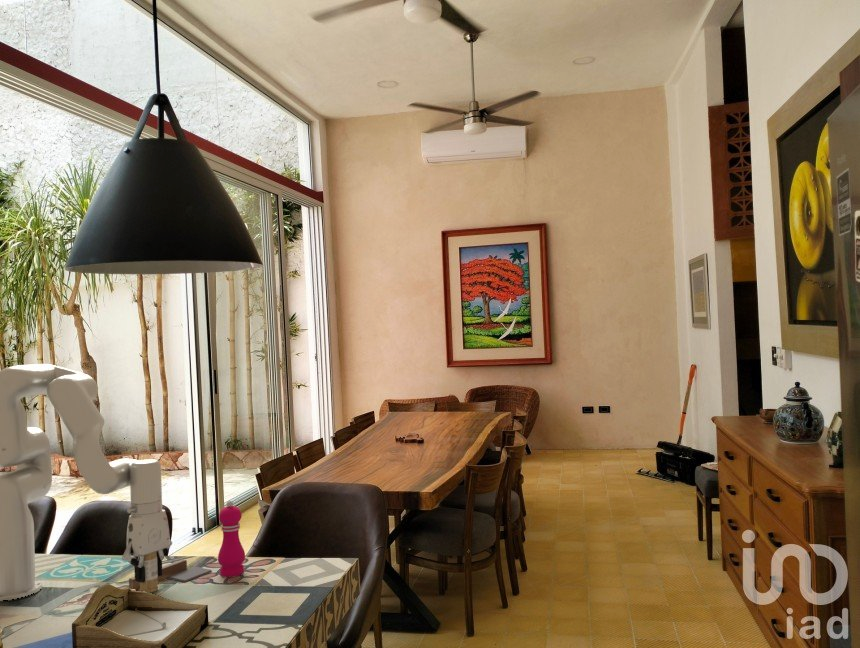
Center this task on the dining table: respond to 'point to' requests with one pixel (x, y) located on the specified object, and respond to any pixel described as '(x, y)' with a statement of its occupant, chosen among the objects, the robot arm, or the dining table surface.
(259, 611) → the dining table surface
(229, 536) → the pepper mill
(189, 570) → the end pad
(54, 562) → the dining table surface
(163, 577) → the guide rail
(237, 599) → the dining table surface
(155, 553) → the sprinkles bottle
